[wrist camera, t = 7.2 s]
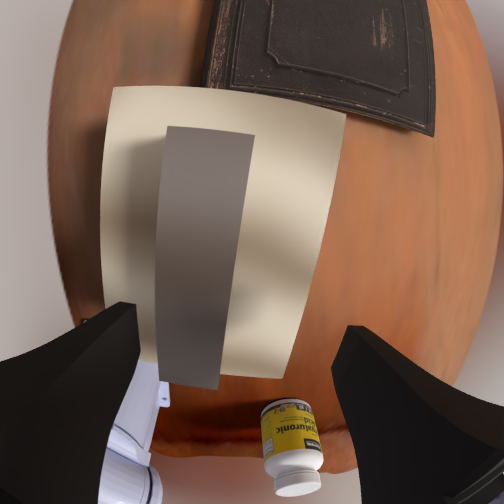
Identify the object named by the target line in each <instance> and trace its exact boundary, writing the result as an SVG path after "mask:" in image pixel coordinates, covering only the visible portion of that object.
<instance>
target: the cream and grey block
mask: <svg viewBox="0 0 504 504" xmlns="http://www.w3.org/2000/svg"><path fill="white" fill-rule="evenodd" d="M345 120H346V114H344V113H340V112H337V111H333V110H330V109H326V108H322V107H318V106H314V105H310V104H306V103H301V102H297V101H292V100H288V99H283V98H277V97H272V96H266V95H260V94H254V93H247V92H240V91H232V90H223V89H213V88H200V87H183V86H127V87H114V89H113V94H112V99H111V104H110V110H109V116H108V122H107V129H106V137H105V145H104V154H103V165H102V179H101V200H100V244H101V266H102V280H103V291H104V300H105V309H107V308H108V307H110V306H112V305H114V304H115V303H117V302H119V301H122V302H127V303H133V304H136V308H137V320H138V330H139V339H140V347H141V352H140V356H139V359H138V360H140V361H145V362H150V363H155V364H158V373H159V381H163V382H168V383H174V384H180V385H186V386H192V387H199V388H207V389H215V390H218V385H219V377H220V374H227V375H237V376H249V377H263V378H283V375H284V372H285V369H286V366H287V363H288V360H289V357H290V354H291V351H292V347H293V344H294V341H295V338H296V335H297V331H298V328H299V325H300V321H301V318H302V314H303V311H304V308H305V304H306V300H307V297H308V293H309V290H310V286H311V282H312V278H313V275H314V271H315V267H316V263H317V259H318V255H319V251H320V247H321V243H322V239H323V234H324V230H325V226H326V221H327V217H328V212H329V208H330V203H331V198H332V193H333V188H334V183H335V178H336V173H337V168H338V162H339V157H340V151H341V145H342V139H343V133H344V127H345Z"/></svg>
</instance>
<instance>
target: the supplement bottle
mask: <svg viewBox="0 0 504 504" xmlns="http://www.w3.org/2000/svg"><path fill="white" fill-rule="evenodd" d="M261 429H262V442H263V454H264V465H265V470H266V472H267V473H268V474H269V475H270V476H272V477H274V478H275V479H274V488H275V493H276V494H277V495H279V496H298V495H304V494H308V493H311V492H314V491H316V490H318V489H319V488H320V487H321V481H320V475H319V473H318V472H317V470H318V469H319V468H320V467H321V465H322V464H323V454H322V449H321V445H320V441H319V437H318V433H317V429H316V425H315V421H314V417H313V413H312V410H311V407H310V405H309V404H308V403H307V402H305V401H302V400H299V399H283V400H279V401H275V402H273V403H271V404H269V405H268V406H267V407H265V409H264V410H263V411H262V413H261Z"/></svg>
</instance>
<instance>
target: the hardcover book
mask: <svg viewBox="0 0 504 504" xmlns="http://www.w3.org/2000/svg"><path fill="white" fill-rule="evenodd" d="M200 88H213V89H223V90H232V91H240V92H247V93H254V94H260V95H266V96H272V97H277V98H283V99H288V100H293V101H300V102H306V103H311V104H317V105H322V106H327V107H331V108H336V109H341V110H345V111H349V112H353V113H357V114H361V115H365V116H368V117H372V118H376V119H379V120H382V121H386V122H389V123H392V124H395V125H398V126H401V127H404V128H407V129H410V130H413V131H416V132H420V133H422V134H425V135H428V136H430V137H434V132H435V109H436V84H435V62H434V49H433V40H432V31H431V24H430V18H429V12H428V7H427V2H426V0H215V1H214V6H213V11H212V16H211V21H210V27H209V32H208V38H207V44H206V50H205V57H204V64H203V71H202V78H201V85H200Z"/></svg>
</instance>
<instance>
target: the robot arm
mask: <svg viewBox="0 0 504 504" xmlns="http://www.w3.org/2000/svg"><path fill="white" fill-rule="evenodd" d="M140 352H141V347H140V339H139V330H138V320H137V308H136V304H133V303H127V302H122V301H119V302H117V303H115V304H114V305H112V306H110V307H108V308H107V309H105V310H103V311H102V312H100V313H99V314H97V315H95V316H94V317H92V318H90V319H89V320H85V321H84V322H83V323H82V324H81V325H79V326H77V327H76V328H74V329H72V330H71V331H69V332H67V333H65V334H63V335H62V336H59V337H58V338H56V339H54V340H52V341H50V342H48V343H47V344H44V345H42V346H41V347H38V348H36V349H33V350H31V351H29V352H26V353H24V354H21V355H19V356H16V357H13V358H10V359H7V360H4V361H1V362H0V504H161V501H162V493H163V492H162V483H161V480H160V477H159V474H158V472H157V470H156V469H155V468H154V467H152V466H150V465H149V462H150V457H151V454H150V453H149V452H148V450H149V447H150V444H151V439H152V435H153V431H154V427H155V423H156V419H157V415H158V411H159V407H160V406H162V407H169V406H170V394H169V383H168V382H163V381H159V373H158V364H155V363H150V362H145V361H140V360H138V359H139V356H140ZM331 370H332V376H333V382H334V386H335V391H336V394H337V397H338V400H339V403H340V406H341V409H342V412H343V415H344V418H345V420H346V423H347V426H348V429H349V432H350V435H351V438H352V441H353V445H354V449H355V453H356V459H357V464H358V470H359V478H360V485H361V497H362V504H504V474H503V472H504V407H503V406H499V405H496V404H493V403H489V402H486V401H484V400H480V399H478V398H476V397H473V396H471V395H468V394H466V393H464V392H462V391H460V390H457V389H456V388H454V387H452V386H450V385H448V384H446V383H445V382H443V381H441V380H439V379H438V378H436V377H434V376H433V375H431V374H430V373H428V372H427V371H425V370H424V369H422V368H421V367H419V366H418V365H416V364H415V363H413V362H412V361H411V360H409V359H408V358H407V357H405V356H404V355H403V354H401V353H400V352H399V351H397V350H396V349H395V348H393V347H392V346H391V345H389V344H388V343H387V342H385V341H384V340H383V339H381V338H380V337H379V336H377V335H376V334H375V333H373V332H372V331H370V330H369V329H367V328H366V327H364V326H353V325H348V326H347V329H346V332H345V334H344V337H343V340H342V342H341V345H340V347H339V350H338V352H337V355H336V357H335V360H334V362H333V364H332V367H331Z"/></svg>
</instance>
